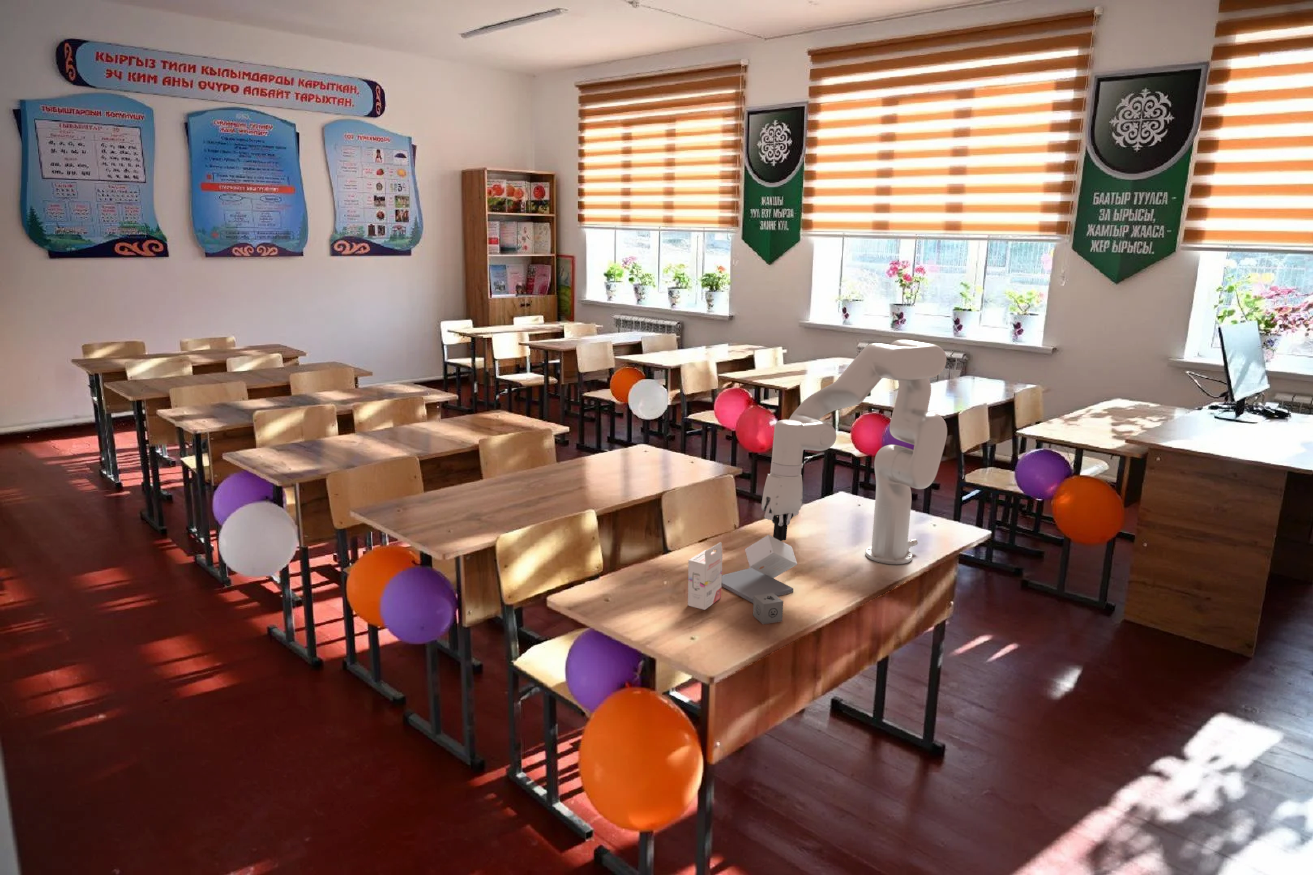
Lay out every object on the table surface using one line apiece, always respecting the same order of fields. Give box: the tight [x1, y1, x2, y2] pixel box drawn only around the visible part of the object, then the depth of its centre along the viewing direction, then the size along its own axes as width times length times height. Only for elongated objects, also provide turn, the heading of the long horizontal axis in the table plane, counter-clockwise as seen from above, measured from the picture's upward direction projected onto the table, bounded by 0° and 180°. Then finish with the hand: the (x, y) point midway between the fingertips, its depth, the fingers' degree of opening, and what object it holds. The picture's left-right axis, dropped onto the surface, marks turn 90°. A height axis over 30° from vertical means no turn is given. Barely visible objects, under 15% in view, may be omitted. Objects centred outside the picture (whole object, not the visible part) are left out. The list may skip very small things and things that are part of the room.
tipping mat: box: [721, 567, 794, 604], centre depth 218 cm, size 13×16×1 cm
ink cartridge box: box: [687, 541, 723, 611], centre depth 207 cm, size 9×5×15 cm, turn 148°
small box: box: [744, 534, 798, 579], centre depth 219 cm, size 8×6×10 cm
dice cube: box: [752, 593, 784, 625], centre depth 200 cm, size 5×5×5 cm
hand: (779, 538), depth 220 cm, fingers closed
